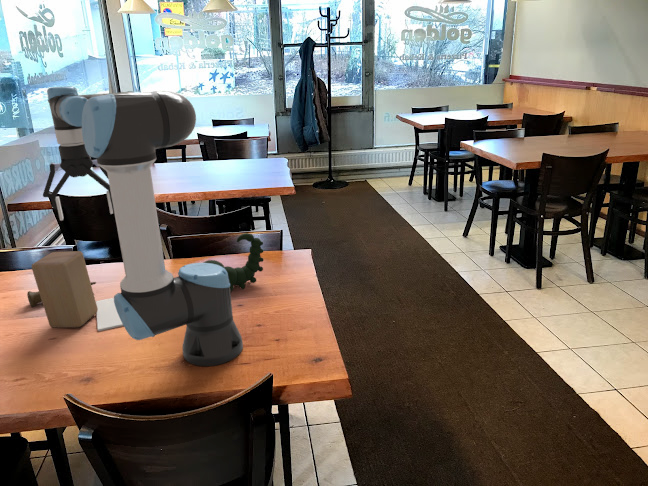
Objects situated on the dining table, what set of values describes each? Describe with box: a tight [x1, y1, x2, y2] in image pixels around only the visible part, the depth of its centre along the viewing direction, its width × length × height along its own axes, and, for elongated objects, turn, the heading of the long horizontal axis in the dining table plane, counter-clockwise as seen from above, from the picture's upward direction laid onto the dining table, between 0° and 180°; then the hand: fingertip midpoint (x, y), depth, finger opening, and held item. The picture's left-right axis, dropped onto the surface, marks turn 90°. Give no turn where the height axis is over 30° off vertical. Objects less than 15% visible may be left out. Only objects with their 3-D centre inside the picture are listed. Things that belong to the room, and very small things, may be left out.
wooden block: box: [31, 250, 98, 328], centre depth 147 cm, size 10×10×20 cm
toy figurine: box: [202, 233, 264, 292], centre depth 165 cm, size 9×19×25 cm
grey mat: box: [95, 297, 124, 332], centre depth 156 cm, size 20×17×1 cm
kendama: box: [27, 281, 97, 308], centre depth 165 cm, size 6×10×20 cm
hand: (87, 216), depth 152 cm, fingers open, 13 cm apart
